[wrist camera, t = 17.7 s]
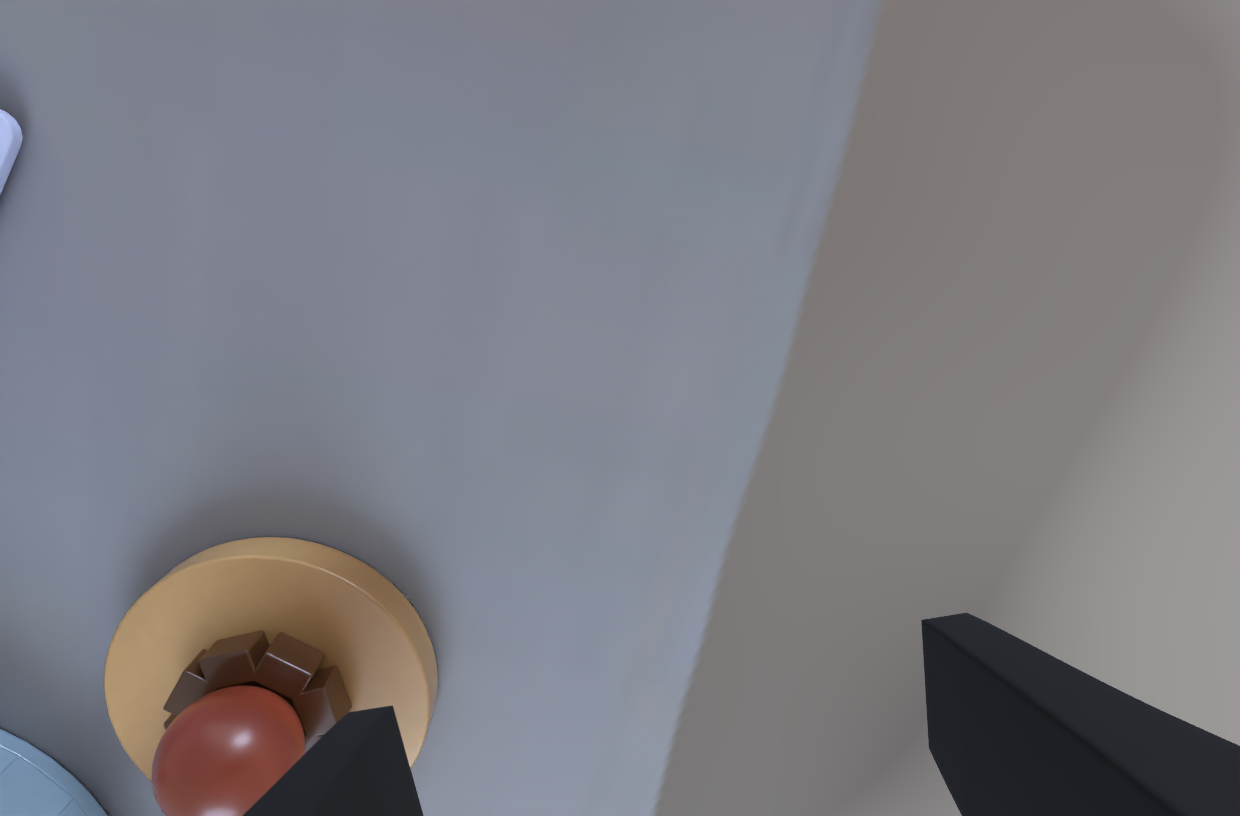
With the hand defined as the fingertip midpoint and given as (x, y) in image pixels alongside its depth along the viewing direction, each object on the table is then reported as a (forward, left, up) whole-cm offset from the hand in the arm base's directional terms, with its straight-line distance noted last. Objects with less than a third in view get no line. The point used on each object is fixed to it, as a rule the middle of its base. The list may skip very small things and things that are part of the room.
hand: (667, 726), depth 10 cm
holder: (-5, -10, -10) cm, 15 cm away
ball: (-5, -10, -7) cm, 13 cm away
